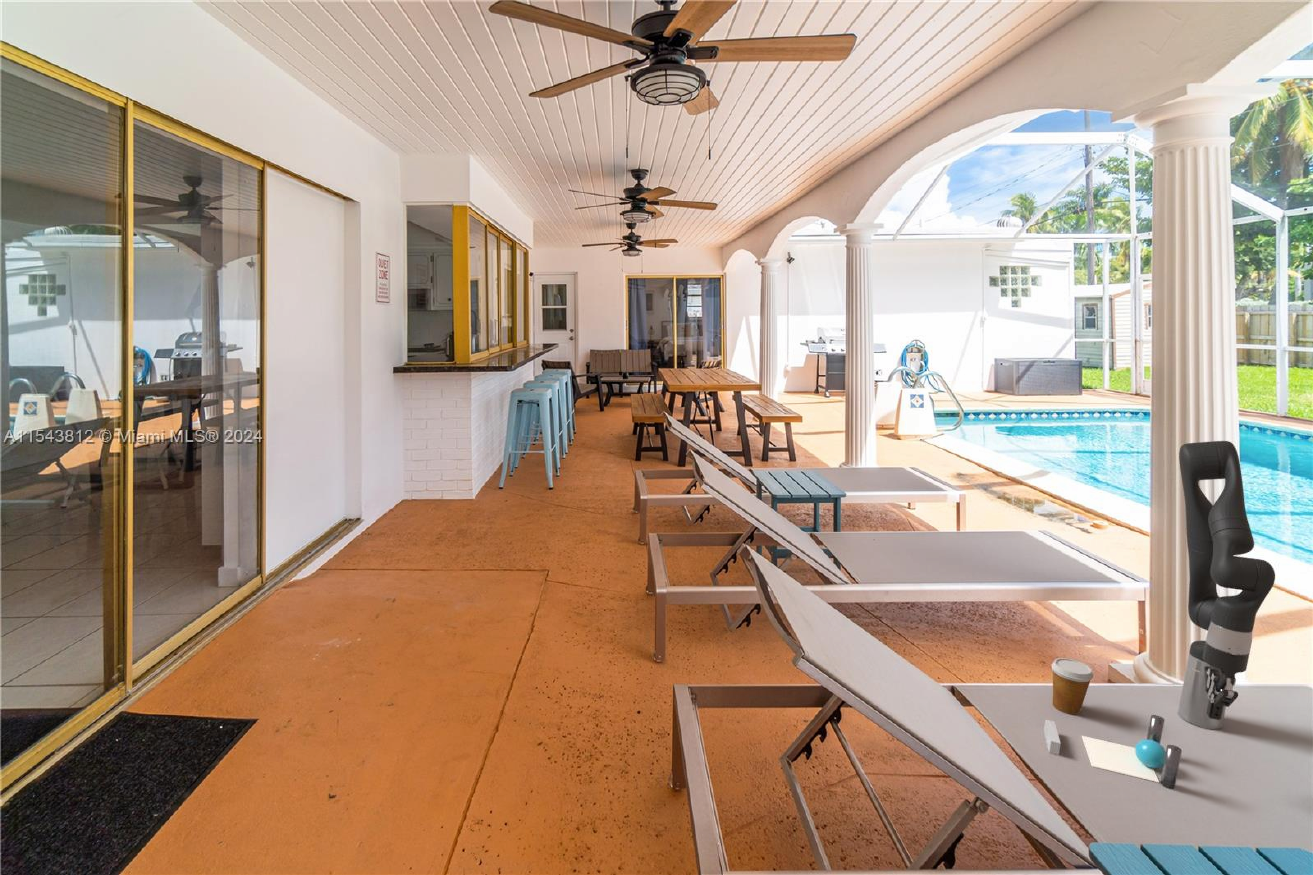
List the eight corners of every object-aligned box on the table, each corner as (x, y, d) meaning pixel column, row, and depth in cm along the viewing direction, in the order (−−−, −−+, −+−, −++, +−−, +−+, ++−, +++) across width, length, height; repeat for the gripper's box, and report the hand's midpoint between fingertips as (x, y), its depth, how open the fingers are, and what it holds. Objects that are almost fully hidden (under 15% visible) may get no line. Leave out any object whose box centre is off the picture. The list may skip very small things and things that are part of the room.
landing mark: (1081, 736, 171) (1081, 735, 171) (1144, 750, 166) (1144, 750, 166) (1091, 766, 159) (1092, 765, 159) (1159, 783, 154) (1159, 782, 154)
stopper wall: (1043, 730, 173) (1045, 719, 172) (1052, 732, 172) (1054, 721, 171) (1049, 752, 164) (1051, 741, 163) (1058, 755, 163) (1060, 743, 162)
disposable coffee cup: (1093, 720, 178) (1100, 677, 176) (1053, 714, 180) (1059, 672, 178) (1078, 701, 188) (1085, 659, 186) (1040, 695, 189) (1046, 655, 187)
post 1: (1143, 747, 167) (1149, 713, 166) (1156, 750, 166) (1162, 716, 165) (1146, 754, 165) (1152, 719, 163) (1159, 756, 164) (1165, 722, 162)
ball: (1146, 731, 163) (1173, 752, 160) (1130, 750, 165) (1156, 770, 161) (1145, 736, 159) (1173, 757, 155) (1128, 755, 160) (1155, 776, 157)
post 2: (1158, 780, 155) (1165, 743, 154) (1172, 783, 154) (1179, 746, 153) (1162, 787, 153) (1169, 750, 151) (1176, 790, 152) (1183, 753, 150)
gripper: (1196, 629, 159) (1183, 699, 162) (1217, 654, 147) (1202, 728, 150) (1237, 636, 156) (1222, 707, 159) (1261, 662, 144) (1245, 738, 147)
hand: (1213, 717), depth 154 cm, fingers closed
